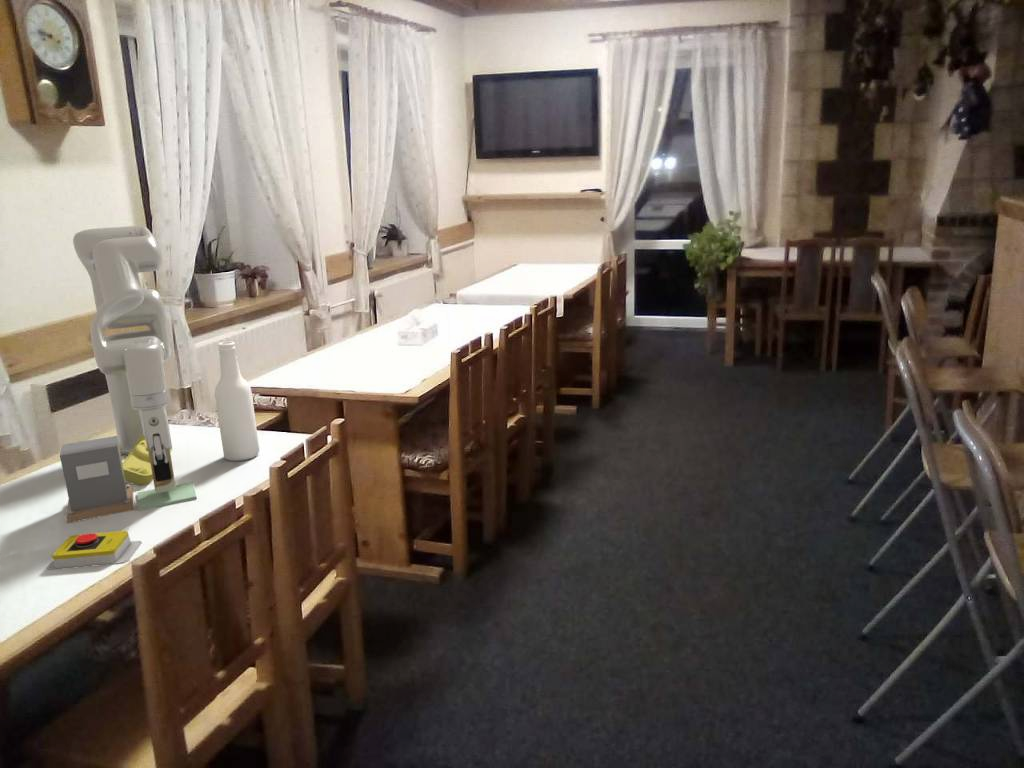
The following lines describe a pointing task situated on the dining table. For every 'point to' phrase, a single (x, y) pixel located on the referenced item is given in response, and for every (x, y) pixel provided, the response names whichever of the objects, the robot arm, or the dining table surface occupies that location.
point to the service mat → (166, 496)
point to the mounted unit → (95, 479)
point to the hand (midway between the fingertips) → (163, 474)
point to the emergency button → (94, 550)
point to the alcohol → (235, 408)
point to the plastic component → (138, 464)
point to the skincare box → (165, 484)
